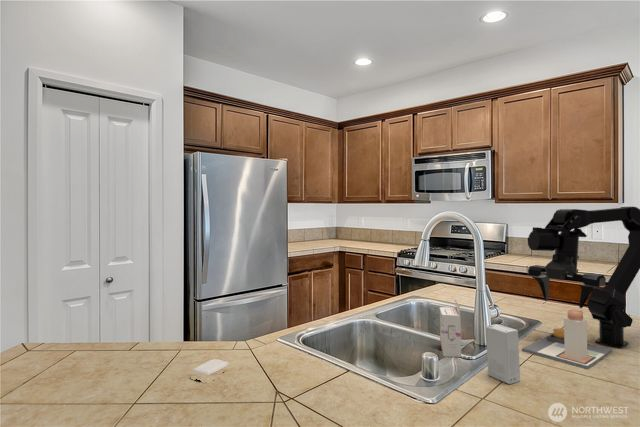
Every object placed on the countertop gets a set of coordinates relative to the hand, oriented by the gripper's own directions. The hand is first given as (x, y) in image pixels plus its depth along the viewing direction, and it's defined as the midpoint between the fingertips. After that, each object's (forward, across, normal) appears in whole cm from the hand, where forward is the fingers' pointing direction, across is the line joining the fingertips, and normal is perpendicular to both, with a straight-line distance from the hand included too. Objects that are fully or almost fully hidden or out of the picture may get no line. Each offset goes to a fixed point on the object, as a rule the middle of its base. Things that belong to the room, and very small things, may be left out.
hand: (562, 304), depth 112 cm
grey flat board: (+12, +4, -5) cm, 13 cm away
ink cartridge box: (+14, -17, -30) cm, 37 cm away
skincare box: (+13, 0, -35) cm, 38 cm away
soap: (+18, -47, -89) cm, 102 cm away
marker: (+11, +7, -10) cm, 17 cm away
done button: (+10, 0, +1) cm, 10 cm away
